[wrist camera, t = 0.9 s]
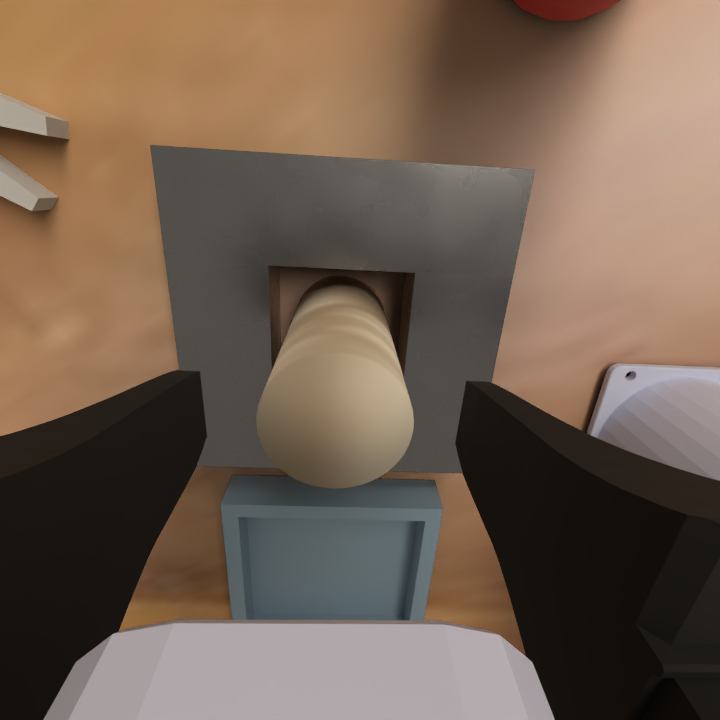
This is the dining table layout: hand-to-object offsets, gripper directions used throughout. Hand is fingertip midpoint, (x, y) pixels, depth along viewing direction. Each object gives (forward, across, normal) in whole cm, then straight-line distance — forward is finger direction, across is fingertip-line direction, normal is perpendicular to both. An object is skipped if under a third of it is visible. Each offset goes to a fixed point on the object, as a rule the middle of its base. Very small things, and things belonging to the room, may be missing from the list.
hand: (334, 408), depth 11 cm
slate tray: (+8, 0, +14) cm, 17 cm away
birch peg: (+8, 0, 0) cm, 8 cm away
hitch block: (+8, 0, 0) cm, 8 cm away
